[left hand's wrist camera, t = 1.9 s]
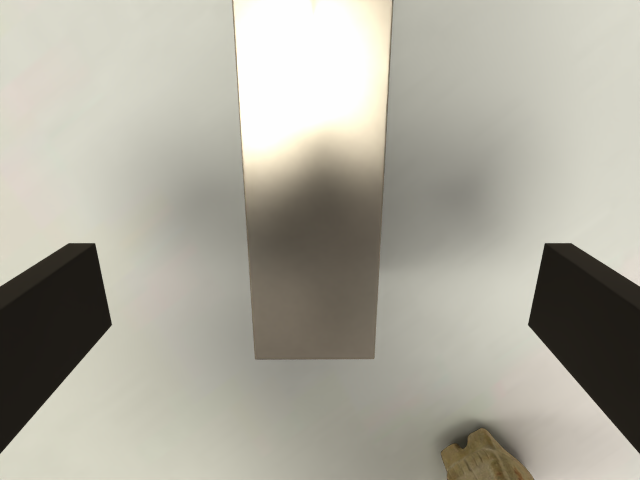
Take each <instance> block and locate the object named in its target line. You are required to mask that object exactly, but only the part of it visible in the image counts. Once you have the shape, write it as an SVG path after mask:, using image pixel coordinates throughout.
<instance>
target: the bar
mask: <svg viewBox="0 0 640 480" xmlns="http://www.w3.org/2000/svg"><path fill="white" fill-rule="evenodd" d="M232 7H233V23H234V38H235V54H236V70H237V85H238V101H239V117H240V132H241V148H242V163H243V179H244V195H245V210H246V226H247V242H248V257H249V273H250V289H251V304H252V320H253V336H254V351H255V359H374V355H375V336H376V317H377V298H378V279H379V261H380V242H381V223H382V204H383V185H384V167H385V148H386V129H387V110H388V92H389V73H390V54H391V35H392V16H393V0H232Z"/></svg>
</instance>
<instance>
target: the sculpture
mask: <svg viewBox="0 0 640 480" xmlns="http://www.w3.org/2000/svg"><path fill="white" fill-rule="evenodd" d="M441 456H442V460H443V462H444V465H445V468H446V470H447V472H448V473H447V480H534V478H533V477H532V475H531V474H530V473H529V471H528V470H527V469H526V468H525V467H524V466H523V465H522V464H521V463H520V462H519V461H518V460H517V459H516V458H514V457H513V456H512V455H511V454H510V453H508V452H507V451H506V450H505V449H503V448H502V447H501V445H500V444H499V443H498V442H497V441H496V440H495V439H494V438H493V437H492V435H491V434H490V433H489V432H488V431H487V430H486V429H484V428H480V429H479V430H477V431H475V432H473V433H471V434H469V436H468V443H467V446H466V447H465V448H464V449H462V448H461V447H460V446H459V445H458V444H456V443H454V444H451V445H450V446H448V447H446V448H445V449H444V450H443V451H442V452H441Z"/></svg>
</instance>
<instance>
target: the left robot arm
mask: <svg viewBox="0 0 640 480" xmlns="http://www.w3.org/2000/svg"><path fill="white" fill-rule="evenodd" d="M111 325H112V323H111V318H110V313H109V308H108V303H107V299H106V294H105V289H104V284H103V279H102V274H101V270H100V265H99V260H98V255H97V250H96V245H95V243H69V244H67V245H65V246H64V247H62V248H61V249H59V250H57V251H56V252H54V253H53V254H51V255H50V256H48V257H46V258H45V259H43V260H42V261H40V262H38V263H37V264H35V265H34V266H32V267H31V268H29V269H27V270H26V271H24V272H23V273H21V274H19V275H18V276H16V277H15V278H13V279H12V280H10V281H8V282H7V283H5V284H4V285H2V286H0V453H1V452H2V451H3V450H4V449H5V448H6V447H7V445H8V444H9V443H10V442H11V441H12V440H13V438H14V437H15V436H16V435H17V434H18V433H19V432H20V430H21V429H22V428H23V427H24V426H25V425H26V423H27V422H28V421H29V420H30V419H31V418H32V417H33V415H34V414H35V413H36V412H37V411H38V410H39V408H40V407H41V406H42V405H43V404H44V403H45V402H46V400H47V399H48V398H49V397H50V396H51V395H52V393H53V392H54V391H55V390H56V389H57V388H58V387H59V385H60V384H61V383H62V382H63V381H64V380H65V378H66V377H67V376H68V375H69V374H70V373H71V372H72V370H73V369H74V368H75V367H76V366H77V365H78V363H79V362H80V361H81V360H82V359H83V358H84V357H85V355H86V354H87V353H88V352H89V351H90V350H91V348H92V347H93V346H94V345H95V344H96V343H97V342H98V340H99V339H100V338H101V337H102V336H103V335H104V333H105V332H106V331H107V330H108V329H109V328H110V327H111ZM528 325H529V327H530V328H531V329H532V330H533V331H534V332H535V333H536V335H537V336H538V337H539V338H540V339H541V340H542V342H543V343H544V344H545V345H546V346H547V347H548V348H549V350H550V351H551V352H552V353H553V354H554V355H555V357H556V358H557V359H558V360H559V361H560V362H561V363H562V365H563V366H564V367H565V368H566V369H567V370H568V372H569V373H570V374H571V375H572V376H573V377H574V378H575V380H576V381H577V382H578V383H579V384H580V385H581V387H582V388H583V389H584V390H585V391H586V392H587V393H588V395H589V396H590V397H591V398H592V399H593V400H594V402H595V403H596V404H597V405H598V406H599V407H600V408H601V410H602V411H603V412H604V413H605V414H606V415H607V417H608V418H609V419H610V420H611V421H612V422H613V423H614V425H615V426H616V427H617V428H618V429H619V430H620V432H621V433H622V434H623V435H624V436H625V437H626V438H627V440H628V441H629V442H630V443H631V444H632V445H633V447H634V448H635V449H636V450H637V451H638V452H639V453H640V286H638V285H636V284H635V283H633V282H632V281H630V280H628V279H627V278H625V277H624V276H622V275H621V274H619V273H617V272H616V271H614V270H613V269H611V268H609V267H608V266H606V265H605V264H603V263H602V262H600V261H598V260H597V259H595V258H594V257H592V256H590V255H589V254H587V253H586V252H584V251H583V250H581V249H579V248H578V247H576V246H575V245H573V244H571V243H545V245H544V250H543V255H542V260H541V265H540V270H539V274H538V279H537V284H536V289H535V294H534V299H533V303H532V308H531V313H530V318H529V323H528Z"/></svg>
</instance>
